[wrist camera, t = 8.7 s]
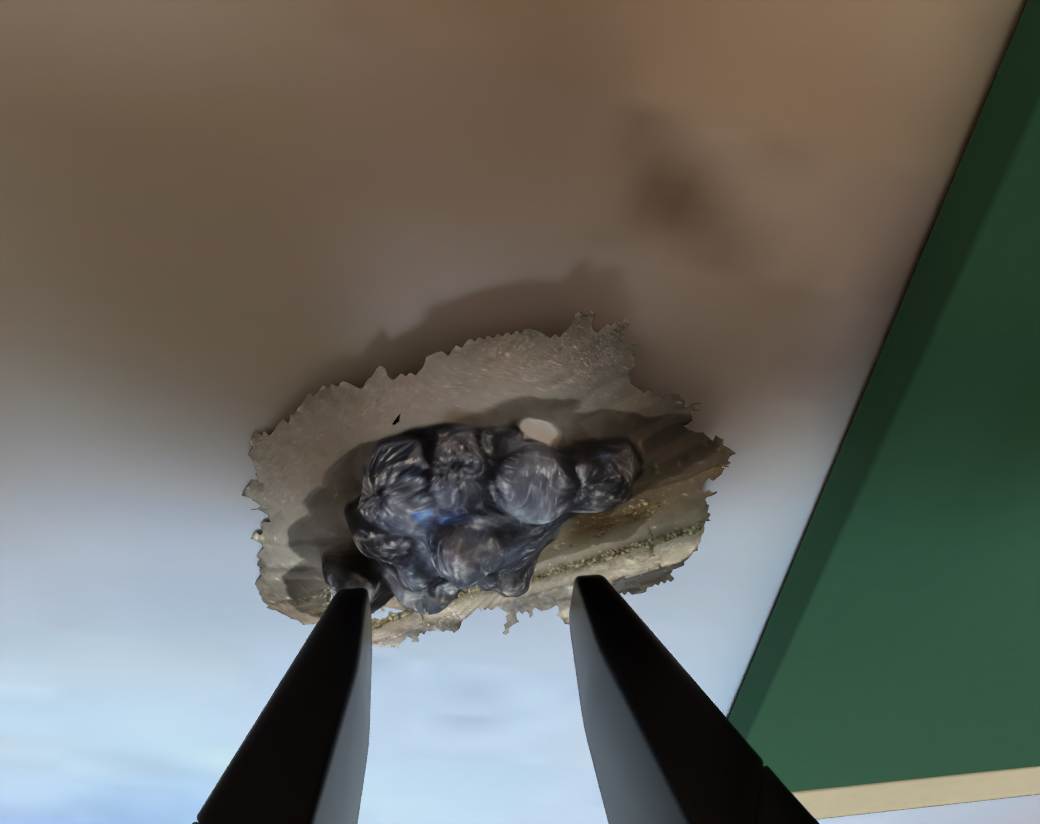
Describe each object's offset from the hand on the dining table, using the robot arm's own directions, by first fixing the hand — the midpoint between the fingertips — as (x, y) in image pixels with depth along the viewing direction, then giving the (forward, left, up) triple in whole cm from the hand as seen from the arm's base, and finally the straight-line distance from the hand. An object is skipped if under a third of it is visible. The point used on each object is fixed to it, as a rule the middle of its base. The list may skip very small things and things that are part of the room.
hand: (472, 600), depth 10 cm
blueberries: (0, 0, -2) cm, 2 cm away
